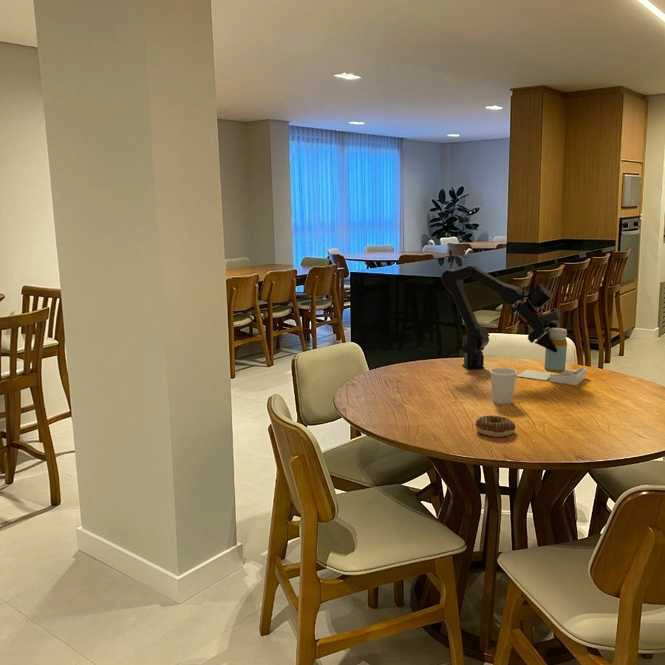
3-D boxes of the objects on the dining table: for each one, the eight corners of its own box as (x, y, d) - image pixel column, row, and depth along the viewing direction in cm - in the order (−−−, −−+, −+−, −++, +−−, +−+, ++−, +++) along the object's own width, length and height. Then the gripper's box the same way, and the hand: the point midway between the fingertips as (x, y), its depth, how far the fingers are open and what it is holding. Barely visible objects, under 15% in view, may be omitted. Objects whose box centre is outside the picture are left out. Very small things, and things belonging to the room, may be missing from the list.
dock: (548, 381, 230) (549, 371, 229) (559, 374, 239) (559, 364, 239) (576, 385, 225) (576, 374, 224) (585, 378, 234) (586, 367, 233)
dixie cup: (519, 405, 203) (520, 374, 201) (491, 405, 203) (492, 374, 201) (512, 397, 211) (513, 367, 209) (486, 398, 211) (487, 367, 209)
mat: (516, 376, 237) (516, 375, 237) (526, 370, 246) (526, 369, 246) (546, 381, 231) (546, 380, 231) (556, 374, 240) (556, 373, 240)
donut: (467, 433, 179) (467, 419, 179) (488, 423, 187) (489, 410, 186) (501, 442, 172) (502, 427, 171) (522, 432, 179) (523, 418, 178)
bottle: (566, 369, 235) (570, 328, 232) (562, 374, 230) (565, 332, 227) (547, 367, 239) (550, 326, 236) (541, 371, 233) (544, 329, 230)
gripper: (539, 304, 224) (569, 340, 220) (556, 298, 239) (584, 331, 235) (515, 325, 230) (544, 360, 226) (533, 317, 245) (561, 350, 241)
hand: (559, 349), depth 232 cm, fingers closed on bottle, 7 cm apart
